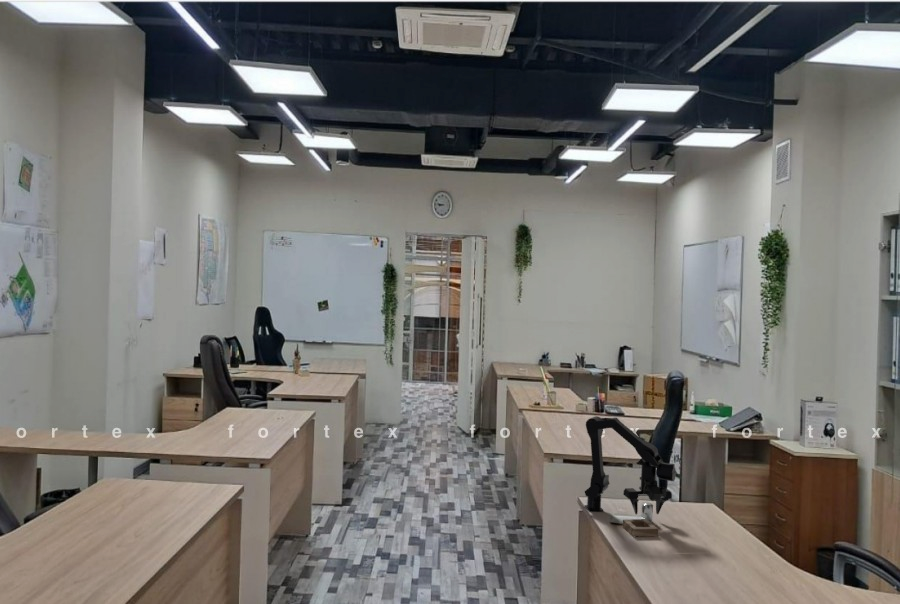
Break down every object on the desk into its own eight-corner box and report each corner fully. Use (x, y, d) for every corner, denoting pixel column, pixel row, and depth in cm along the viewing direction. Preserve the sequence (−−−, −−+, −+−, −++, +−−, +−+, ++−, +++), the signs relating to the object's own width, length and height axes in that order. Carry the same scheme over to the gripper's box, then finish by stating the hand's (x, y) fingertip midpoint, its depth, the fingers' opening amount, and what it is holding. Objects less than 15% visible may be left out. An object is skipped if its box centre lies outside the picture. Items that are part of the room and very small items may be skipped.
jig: (622, 527, 252) (622, 519, 251) (646, 526, 253) (646, 519, 253) (633, 536, 242) (633, 529, 242) (657, 536, 243) (658, 528, 243)
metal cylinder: (639, 519, 261) (640, 502, 261) (649, 518, 262) (650, 502, 262) (643, 523, 257) (644, 506, 257) (654, 522, 257) (654, 505, 257)
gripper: (635, 482, 250) (633, 521, 250) (679, 482, 252) (677, 521, 253) (623, 474, 261) (622, 511, 261) (666, 474, 263) (664, 511, 264)
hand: (646, 514), depth 259 cm, fingers open, 9 cm apart
